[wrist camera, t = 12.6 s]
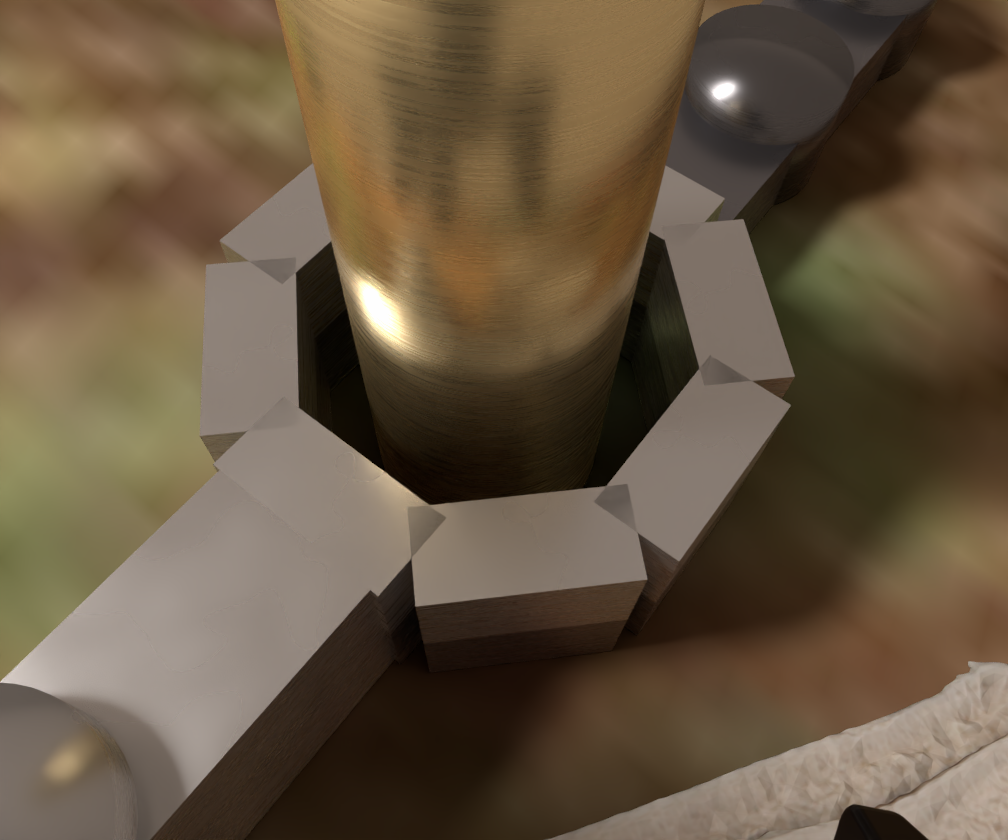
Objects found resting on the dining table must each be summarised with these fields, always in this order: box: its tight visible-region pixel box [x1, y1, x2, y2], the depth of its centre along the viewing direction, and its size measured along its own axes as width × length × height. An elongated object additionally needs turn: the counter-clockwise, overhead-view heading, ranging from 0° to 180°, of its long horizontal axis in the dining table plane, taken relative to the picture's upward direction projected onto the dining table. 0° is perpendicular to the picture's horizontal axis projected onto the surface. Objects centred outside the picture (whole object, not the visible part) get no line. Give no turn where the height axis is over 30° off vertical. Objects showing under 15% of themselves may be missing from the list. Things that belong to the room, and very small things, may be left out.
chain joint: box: [0, 0, 937, 840], centre depth 16 cm, size 35×9×5 cm, turn 142°
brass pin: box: [275, 0, 705, 505], centre depth 13 cm, size 4×4×13 cm
